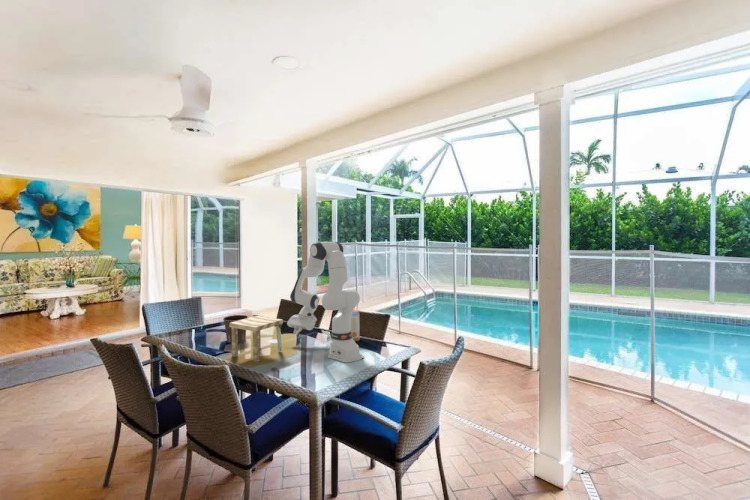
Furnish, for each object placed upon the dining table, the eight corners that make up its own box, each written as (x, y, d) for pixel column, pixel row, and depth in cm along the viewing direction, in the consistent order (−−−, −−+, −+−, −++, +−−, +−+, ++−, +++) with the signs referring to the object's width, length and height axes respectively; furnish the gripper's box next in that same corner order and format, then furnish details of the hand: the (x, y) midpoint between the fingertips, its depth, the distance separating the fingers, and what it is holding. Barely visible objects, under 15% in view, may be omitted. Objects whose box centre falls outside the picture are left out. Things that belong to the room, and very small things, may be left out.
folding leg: (280, 350, 236) (278, 323, 234) (282, 351, 235) (280, 324, 233) (277, 351, 234) (275, 324, 232) (280, 352, 233) (278, 325, 231)
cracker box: (359, 339, 263) (359, 309, 262) (358, 341, 257) (358, 311, 256) (340, 338, 264) (339, 309, 263) (338, 341, 258) (338, 310, 257)
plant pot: (240, 344, 250) (239, 320, 250) (218, 343, 254) (218, 319, 253) (252, 338, 266) (252, 315, 266) (232, 336, 269) (231, 314, 269)
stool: (258, 346, 245) (257, 315, 244) (283, 352, 234) (282, 319, 233) (230, 356, 226) (229, 322, 225) (256, 362, 215) (255, 327, 214)
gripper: (291, 311, 258) (281, 328, 250) (314, 314, 248) (305, 332, 240) (295, 316, 262) (285, 333, 254) (319, 320, 252) (309, 338, 244)
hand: (295, 333), depth 247 cm, fingers closed
